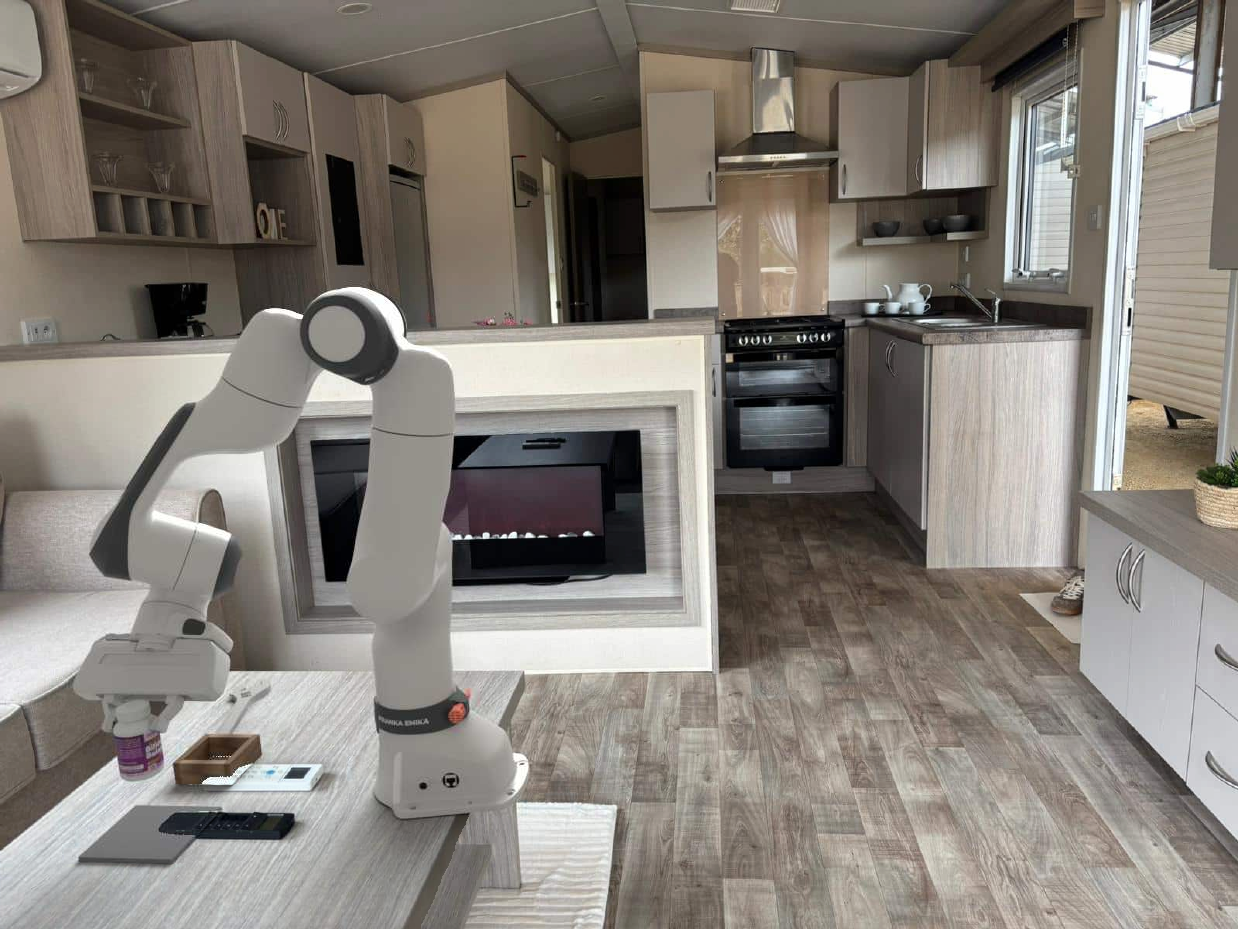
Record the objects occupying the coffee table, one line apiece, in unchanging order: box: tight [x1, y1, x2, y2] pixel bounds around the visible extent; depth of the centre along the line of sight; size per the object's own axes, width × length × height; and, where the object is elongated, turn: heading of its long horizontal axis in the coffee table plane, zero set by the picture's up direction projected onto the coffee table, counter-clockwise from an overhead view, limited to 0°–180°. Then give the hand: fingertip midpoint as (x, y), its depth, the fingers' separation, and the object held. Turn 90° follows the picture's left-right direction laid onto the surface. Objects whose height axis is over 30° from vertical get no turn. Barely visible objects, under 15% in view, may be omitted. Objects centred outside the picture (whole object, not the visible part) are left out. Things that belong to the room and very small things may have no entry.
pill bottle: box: [112, 700, 165, 783], centre depth 120 cm, size 5×5×10 cm
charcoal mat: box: [77, 804, 223, 865], centre depth 123 cm, size 13×12×1 cm
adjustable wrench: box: [213, 678, 272, 734], centre depth 157 cm, size 25×6×2 cm, turn 2°
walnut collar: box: [172, 733, 263, 786], centre depth 139 cm, size 9×9×4 cm
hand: (133, 731), depth 120 cm, fingers closed on pill bottle, 5 cm apart
